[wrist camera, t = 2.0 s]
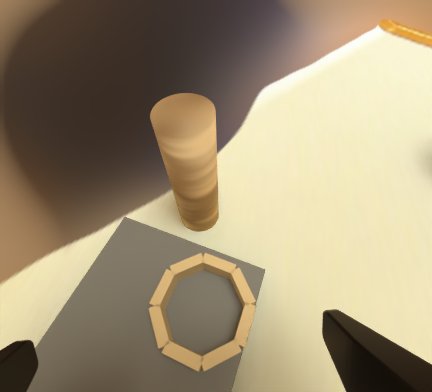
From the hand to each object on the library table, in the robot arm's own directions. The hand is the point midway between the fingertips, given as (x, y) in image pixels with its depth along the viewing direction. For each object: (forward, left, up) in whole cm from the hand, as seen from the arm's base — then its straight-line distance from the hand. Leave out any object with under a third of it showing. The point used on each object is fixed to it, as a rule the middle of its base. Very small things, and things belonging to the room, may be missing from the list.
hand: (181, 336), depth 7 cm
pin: (+5, -11, -14) cm, 18 cm away
